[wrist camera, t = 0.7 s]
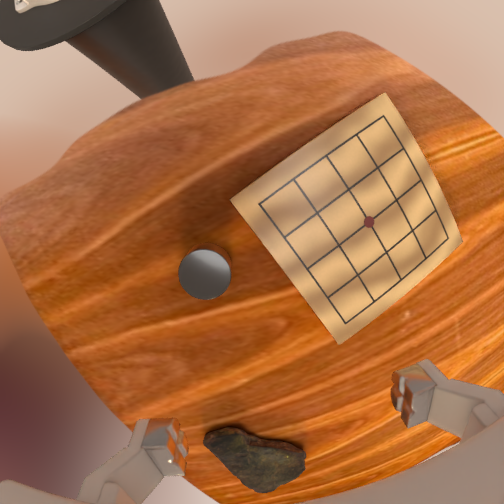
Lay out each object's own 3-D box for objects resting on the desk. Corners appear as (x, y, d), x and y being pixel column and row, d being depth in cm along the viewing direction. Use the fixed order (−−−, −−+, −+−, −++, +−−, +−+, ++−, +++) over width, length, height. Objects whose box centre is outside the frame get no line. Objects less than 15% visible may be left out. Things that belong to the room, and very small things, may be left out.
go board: (229, 199, 30) (229, 200, 28) (379, 95, 27) (385, 91, 26) (335, 338, 34) (339, 345, 32) (456, 239, 32) (463, 241, 30)
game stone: (173, 261, 31) (167, 270, 28) (211, 232, 30) (208, 238, 27) (204, 297, 32) (201, 309, 29) (241, 270, 31) (242, 279, 28)
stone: (198, 432, 36) (197, 447, 33) (272, 405, 36) (275, 420, 33) (257, 483, 41) (258, 496, 38) (318, 462, 40) (322, 475, 37)
